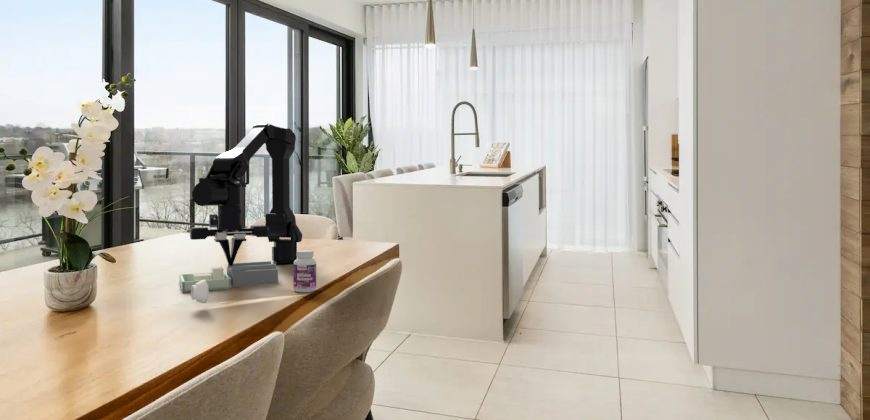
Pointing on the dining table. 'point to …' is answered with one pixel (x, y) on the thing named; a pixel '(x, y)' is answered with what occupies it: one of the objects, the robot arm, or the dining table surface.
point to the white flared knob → (200, 291)
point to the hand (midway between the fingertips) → (230, 265)
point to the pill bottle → (304, 272)
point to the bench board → (252, 273)
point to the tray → (216, 284)
